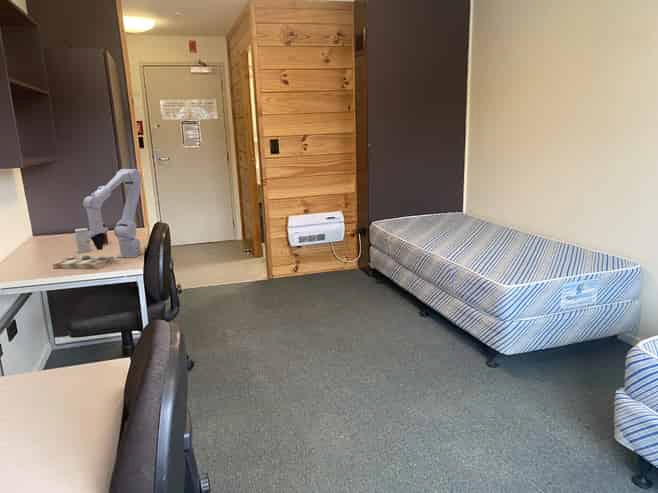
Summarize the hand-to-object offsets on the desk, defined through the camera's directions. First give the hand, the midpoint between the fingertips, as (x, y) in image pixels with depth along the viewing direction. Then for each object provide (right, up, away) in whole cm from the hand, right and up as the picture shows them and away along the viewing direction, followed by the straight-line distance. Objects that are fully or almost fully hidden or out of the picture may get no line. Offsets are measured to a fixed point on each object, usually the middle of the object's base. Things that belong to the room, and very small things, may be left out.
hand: (99, 249), depth 231 cm
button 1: (-16, -6, +4) cm, 17 cm away
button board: (-8, -7, +1) cm, 11 cm away
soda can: (-19, +2, +42) cm, 46 cm away
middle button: (-8, -5, +2) cm, 10 cm away
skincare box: (-21, -1, +28) cm, 35 cm away
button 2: (0, -6, +1) cm, 6 cm away
